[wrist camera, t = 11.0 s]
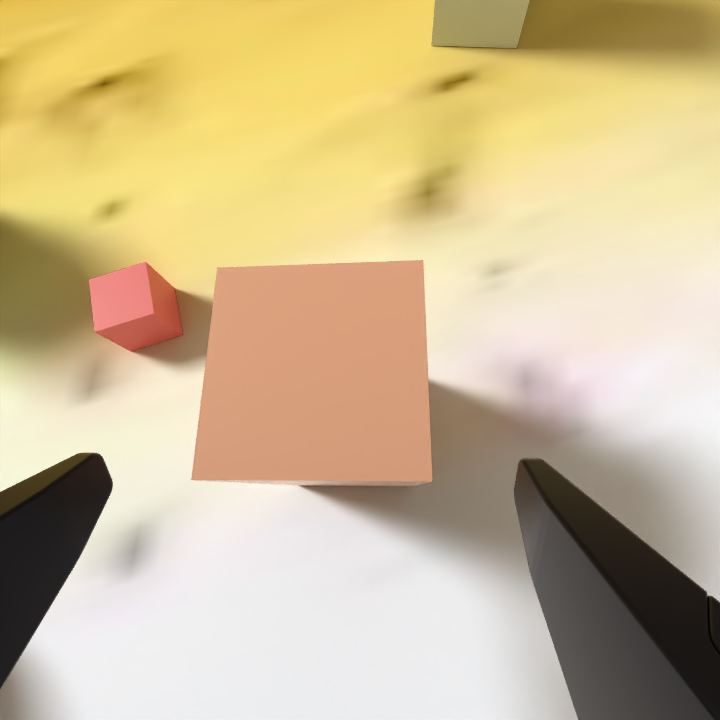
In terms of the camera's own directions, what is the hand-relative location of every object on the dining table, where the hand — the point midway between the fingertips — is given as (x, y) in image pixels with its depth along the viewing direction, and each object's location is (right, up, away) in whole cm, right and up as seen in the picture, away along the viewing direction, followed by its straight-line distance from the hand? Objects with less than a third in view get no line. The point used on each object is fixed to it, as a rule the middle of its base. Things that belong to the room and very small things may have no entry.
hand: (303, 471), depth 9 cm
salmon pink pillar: (+1, -1, +12) cm, 12 cm away
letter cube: (-10, +5, +15) cm, 19 cm away
